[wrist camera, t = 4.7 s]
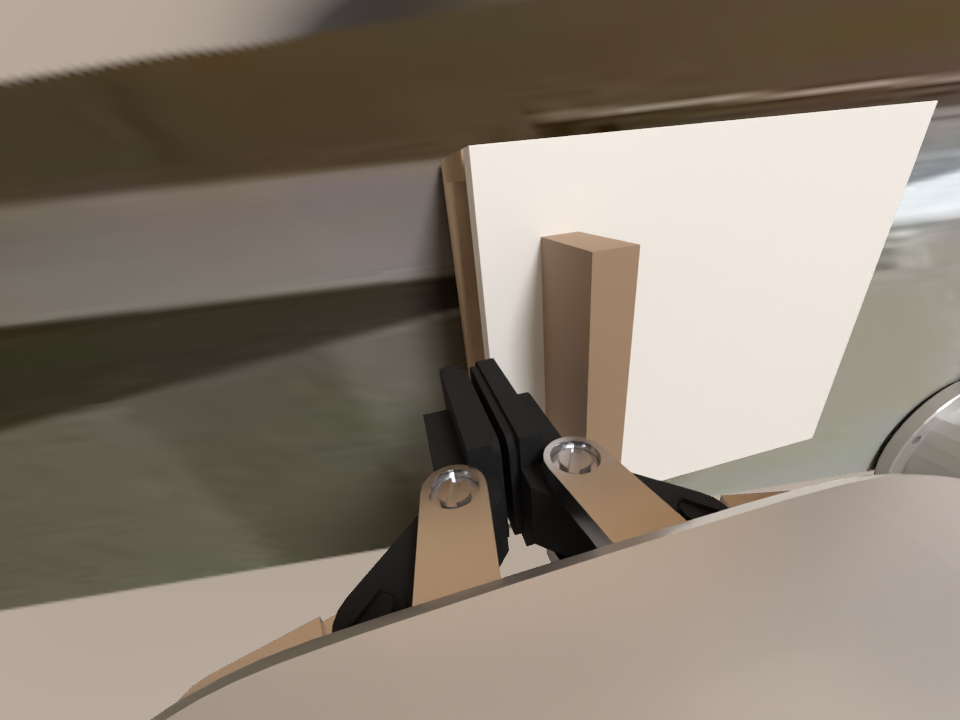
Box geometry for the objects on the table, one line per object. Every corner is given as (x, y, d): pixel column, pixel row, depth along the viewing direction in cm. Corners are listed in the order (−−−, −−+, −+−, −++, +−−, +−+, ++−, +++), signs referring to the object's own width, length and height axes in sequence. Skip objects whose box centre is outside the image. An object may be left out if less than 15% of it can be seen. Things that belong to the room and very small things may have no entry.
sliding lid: (907, 105, 13) (1091, 76, 10) (796, 428, 19) (884, 479, 16) (462, 148, 10) (503, 128, 7) (500, 510, 16) (531, 592, 13)
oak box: (787, 124, 17) (896, 106, 13) (727, 388, 23) (790, 425, 19) (440, 159, 14) (460, 149, 10) (478, 449, 20) (499, 505, 17)
